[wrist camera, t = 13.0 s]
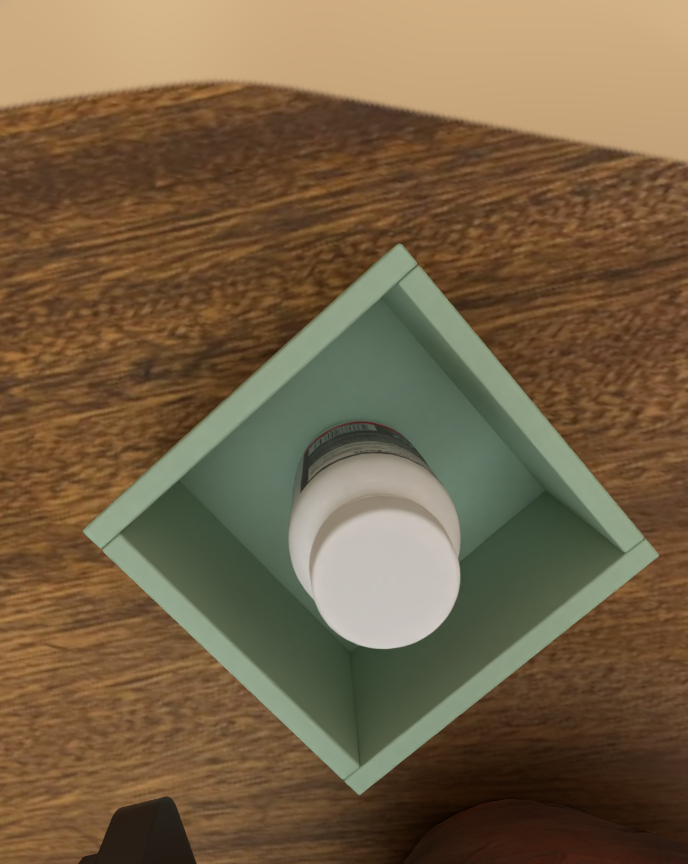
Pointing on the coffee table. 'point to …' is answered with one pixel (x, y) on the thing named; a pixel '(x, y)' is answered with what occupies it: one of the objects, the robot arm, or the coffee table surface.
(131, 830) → the robot arm
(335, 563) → the pill bottle
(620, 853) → the bowl
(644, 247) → the coffee table surface
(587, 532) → the bin
